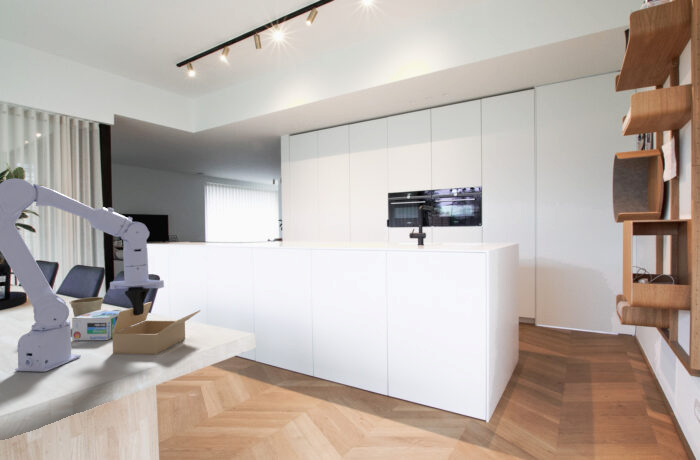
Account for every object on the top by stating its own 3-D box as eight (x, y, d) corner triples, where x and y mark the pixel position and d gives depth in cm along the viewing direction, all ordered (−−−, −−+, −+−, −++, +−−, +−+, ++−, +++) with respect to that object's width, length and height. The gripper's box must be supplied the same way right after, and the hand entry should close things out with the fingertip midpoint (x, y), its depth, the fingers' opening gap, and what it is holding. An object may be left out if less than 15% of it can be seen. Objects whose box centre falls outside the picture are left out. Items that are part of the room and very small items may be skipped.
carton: (156, 354, 91) (155, 334, 91) (112, 353, 92) (112, 333, 92) (185, 338, 104) (184, 320, 103) (146, 337, 105) (146, 320, 105)
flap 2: (157, 333, 91) (157, 334, 91) (174, 321, 90) (175, 322, 90) (184, 320, 103) (185, 321, 103) (200, 310, 103) (200, 310, 103)
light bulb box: (131, 309, 113) (107, 317, 102) (131, 330, 113) (107, 340, 102) (98, 309, 113) (70, 317, 102) (98, 330, 113) (70, 341, 102)
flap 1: (120, 312, 92) (119, 311, 92) (113, 333, 92) (112, 332, 92) (152, 301, 104) (151, 301, 104) (145, 320, 104) (144, 319, 104)
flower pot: (62, 328, 116) (61, 302, 115) (91, 321, 125) (90, 296, 124) (83, 330, 113) (83, 303, 113) (111, 322, 122) (110, 297, 122)
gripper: (169, 263, 101) (171, 310, 101) (122, 264, 103) (124, 310, 103) (153, 266, 94) (155, 317, 94) (103, 267, 96) (105, 317, 96)
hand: (138, 314), depth 98 cm, fingers closed, pressing on flap 1
